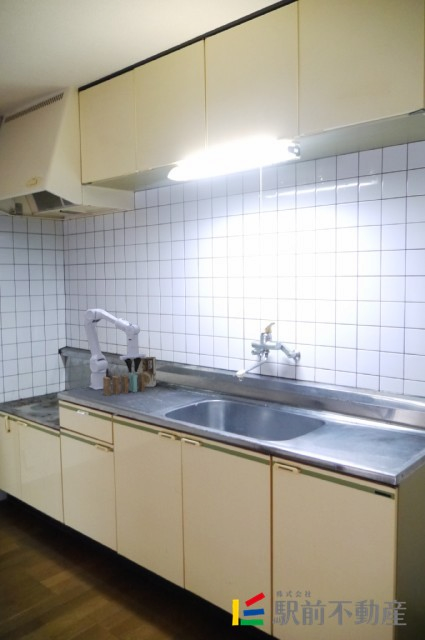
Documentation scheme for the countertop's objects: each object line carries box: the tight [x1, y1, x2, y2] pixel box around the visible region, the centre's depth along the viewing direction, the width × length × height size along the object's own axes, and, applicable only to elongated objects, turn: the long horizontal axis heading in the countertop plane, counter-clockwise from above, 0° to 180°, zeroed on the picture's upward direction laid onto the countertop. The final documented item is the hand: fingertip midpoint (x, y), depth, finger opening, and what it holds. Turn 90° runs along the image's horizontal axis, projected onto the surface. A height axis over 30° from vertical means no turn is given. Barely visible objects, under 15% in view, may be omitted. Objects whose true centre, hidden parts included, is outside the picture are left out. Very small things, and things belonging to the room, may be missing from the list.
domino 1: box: [102, 376, 112, 396], centre depth 266 cm, size 2×5×9 cm, turn 34°
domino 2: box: [111, 375, 121, 395], centre depth 269 cm, size 2×5×9 cm, turn 34°
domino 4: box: [129, 373, 138, 393], centre depth 275 cm, size 2×5×9 cm, turn 34°
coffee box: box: [137, 356, 157, 388], centre depth 289 cm, size 9×6×16 cm
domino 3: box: [120, 374, 129, 394], centre depth 272 cm, size 2×5×9 cm, turn 34°
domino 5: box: [137, 372, 146, 392], centre depth 278 cm, size 2×5×9 cm, turn 34°
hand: (133, 372), depth 274 cm, fingers open, 3 cm apart
